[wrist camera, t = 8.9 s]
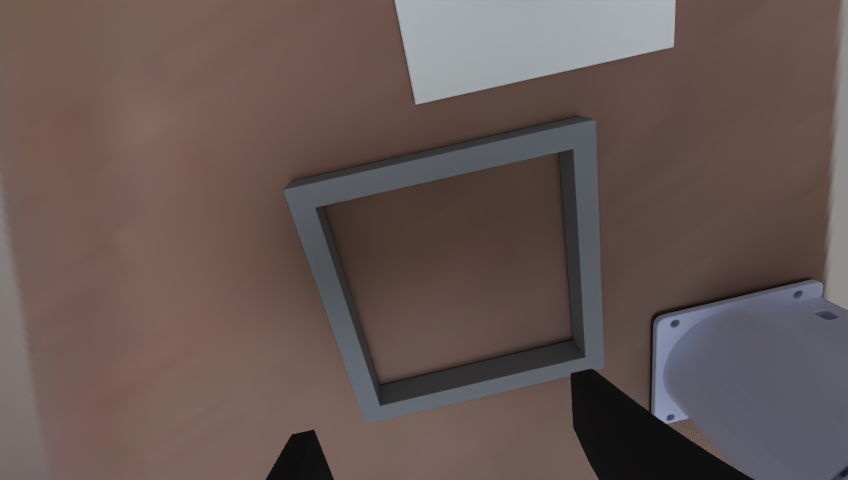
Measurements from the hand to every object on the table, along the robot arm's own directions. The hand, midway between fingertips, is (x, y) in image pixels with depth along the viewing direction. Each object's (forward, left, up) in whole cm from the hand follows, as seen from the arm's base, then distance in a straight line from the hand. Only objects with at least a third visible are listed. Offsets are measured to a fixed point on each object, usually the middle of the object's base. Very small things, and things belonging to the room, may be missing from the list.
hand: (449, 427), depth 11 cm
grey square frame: (-2, +1, -9) cm, 10 cm away
